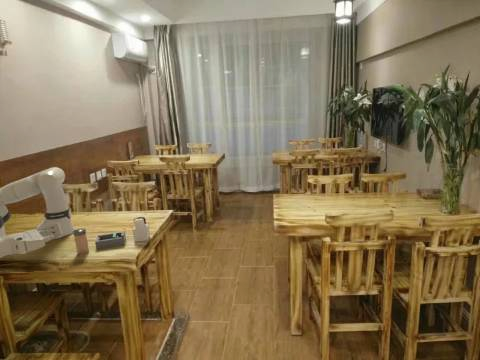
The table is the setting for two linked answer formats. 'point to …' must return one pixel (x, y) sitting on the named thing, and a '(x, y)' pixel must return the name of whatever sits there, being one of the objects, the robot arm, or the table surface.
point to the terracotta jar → (81, 241)
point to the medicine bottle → (141, 230)
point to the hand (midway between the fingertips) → (51, 233)
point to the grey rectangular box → (110, 240)
